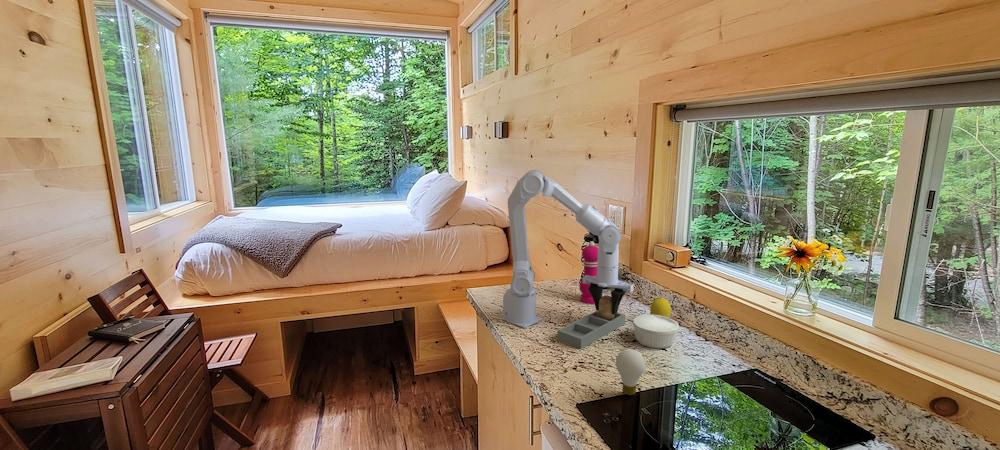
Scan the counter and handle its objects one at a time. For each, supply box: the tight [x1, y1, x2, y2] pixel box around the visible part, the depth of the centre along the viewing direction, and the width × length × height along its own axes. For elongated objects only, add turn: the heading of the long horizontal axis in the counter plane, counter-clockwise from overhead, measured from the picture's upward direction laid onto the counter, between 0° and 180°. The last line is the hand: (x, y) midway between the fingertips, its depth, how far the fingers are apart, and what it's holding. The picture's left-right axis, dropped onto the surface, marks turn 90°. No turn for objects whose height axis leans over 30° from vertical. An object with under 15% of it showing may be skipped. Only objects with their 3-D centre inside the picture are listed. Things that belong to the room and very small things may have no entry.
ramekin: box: [632, 314, 680, 349], centre depth 118 cm, size 11×11×5 cm
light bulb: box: [615, 348, 646, 396], centre depth 94 cm, size 6×6×10 cm
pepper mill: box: [578, 240, 599, 305], centre depth 146 cm, size 7×7×20 cm
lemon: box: [649, 296, 672, 319], centre depth 128 cm, size 6×6×8 cm
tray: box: [556, 310, 626, 350], centre depth 124 cm, size 8×21×3 cm, turn 134°
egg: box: [599, 294, 614, 321], centre depth 128 cm, size 4×4×7 cm
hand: (606, 311), depth 129 cm, fingers closed on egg, 4 cm apart
